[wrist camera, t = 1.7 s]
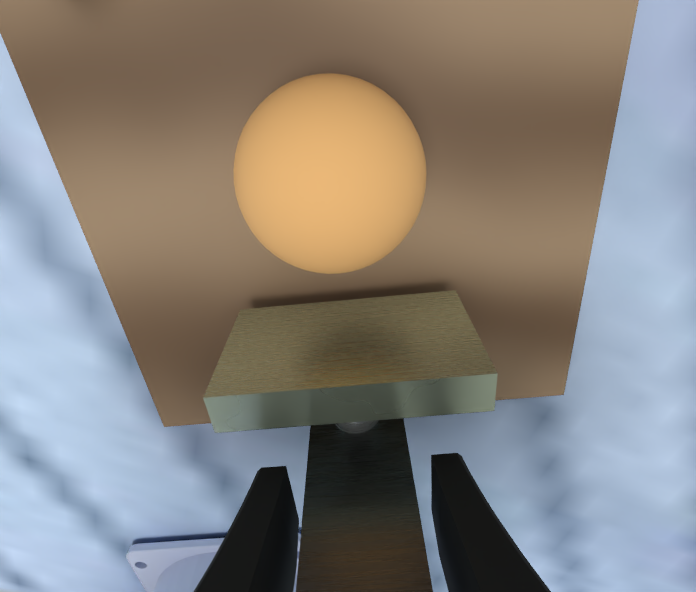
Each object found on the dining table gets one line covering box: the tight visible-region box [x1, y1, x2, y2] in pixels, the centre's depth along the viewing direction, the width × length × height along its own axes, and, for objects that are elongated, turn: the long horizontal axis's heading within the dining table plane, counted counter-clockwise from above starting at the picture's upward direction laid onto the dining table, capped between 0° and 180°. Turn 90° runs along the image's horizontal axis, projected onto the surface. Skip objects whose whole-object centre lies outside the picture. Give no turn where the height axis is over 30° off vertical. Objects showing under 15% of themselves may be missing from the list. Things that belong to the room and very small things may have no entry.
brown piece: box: [0, 0, 639, 427], centre depth 8 cm, size 20×14×6 cm
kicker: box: [203, 290, 498, 592], centre depth 9 cm, size 5×6×8 cm
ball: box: [233, 73, 426, 274], centre depth 9 cm, size 4×4×4 cm
